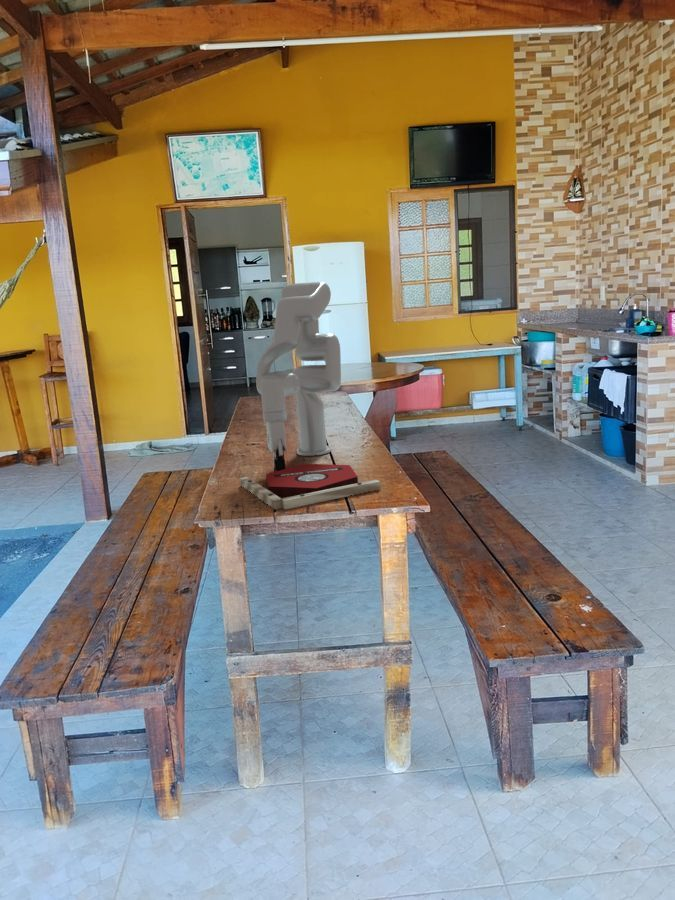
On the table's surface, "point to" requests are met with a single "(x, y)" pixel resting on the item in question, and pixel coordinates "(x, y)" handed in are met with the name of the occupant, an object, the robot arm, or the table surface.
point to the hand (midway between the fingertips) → (280, 470)
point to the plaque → (309, 479)
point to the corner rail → (309, 497)
